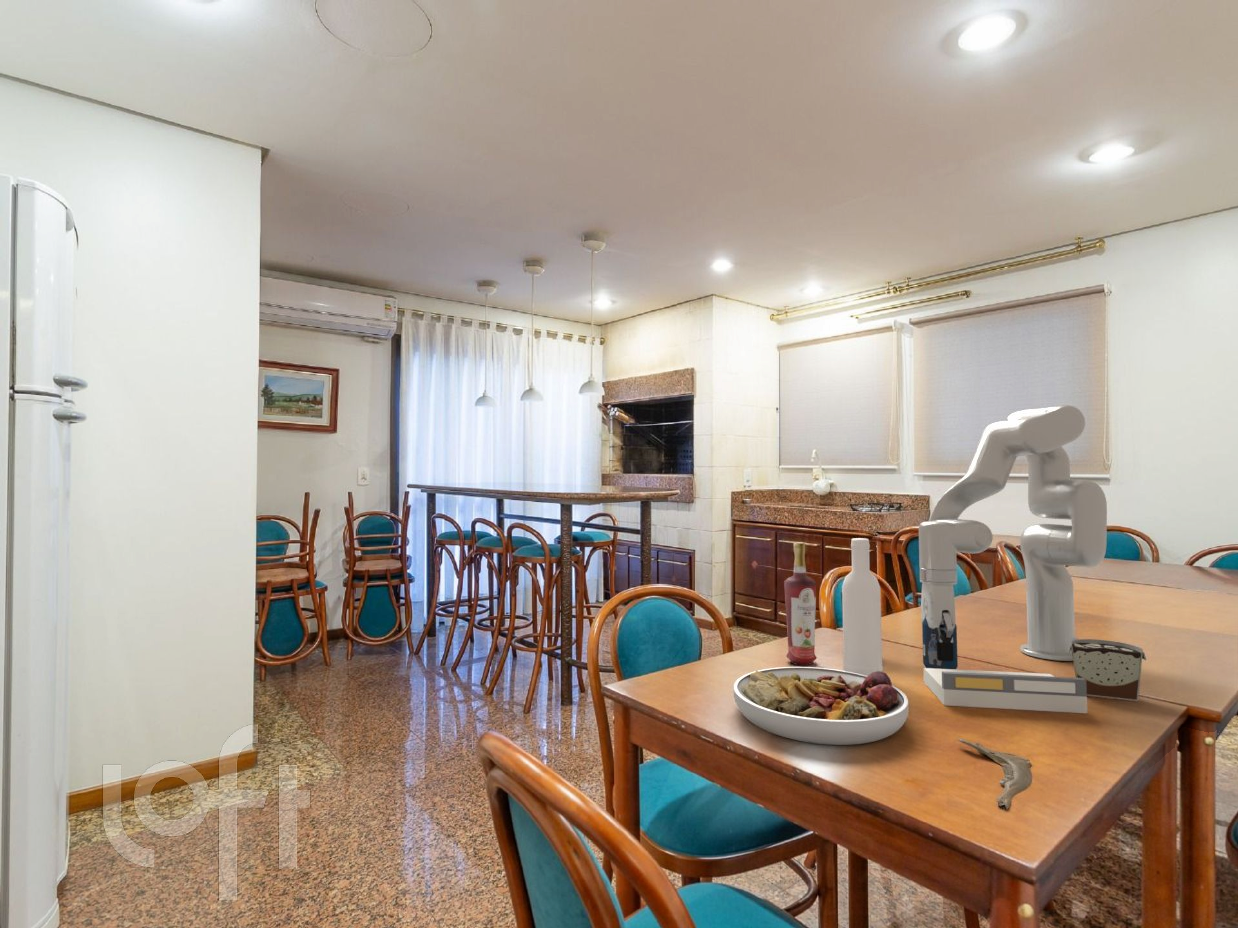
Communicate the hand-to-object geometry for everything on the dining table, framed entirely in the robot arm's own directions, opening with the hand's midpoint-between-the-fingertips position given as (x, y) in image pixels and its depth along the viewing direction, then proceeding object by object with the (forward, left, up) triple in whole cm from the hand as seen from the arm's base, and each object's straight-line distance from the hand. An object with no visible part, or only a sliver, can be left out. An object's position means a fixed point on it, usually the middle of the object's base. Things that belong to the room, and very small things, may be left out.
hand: (939, 655), depth 142 cm
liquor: (+30, -1, -4) cm, 30 cm away
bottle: (+18, +9, -4) cm, 20 cm away
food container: (-27, +11, -4) cm, 29 cm away
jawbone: (+9, +53, -4) cm, 54 cm away
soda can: (0, 0, -4) cm, 4 cm away
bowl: (+30, +34, -4) cm, 46 cm away
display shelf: (-6, +17, -3) cm, 18 cm away
